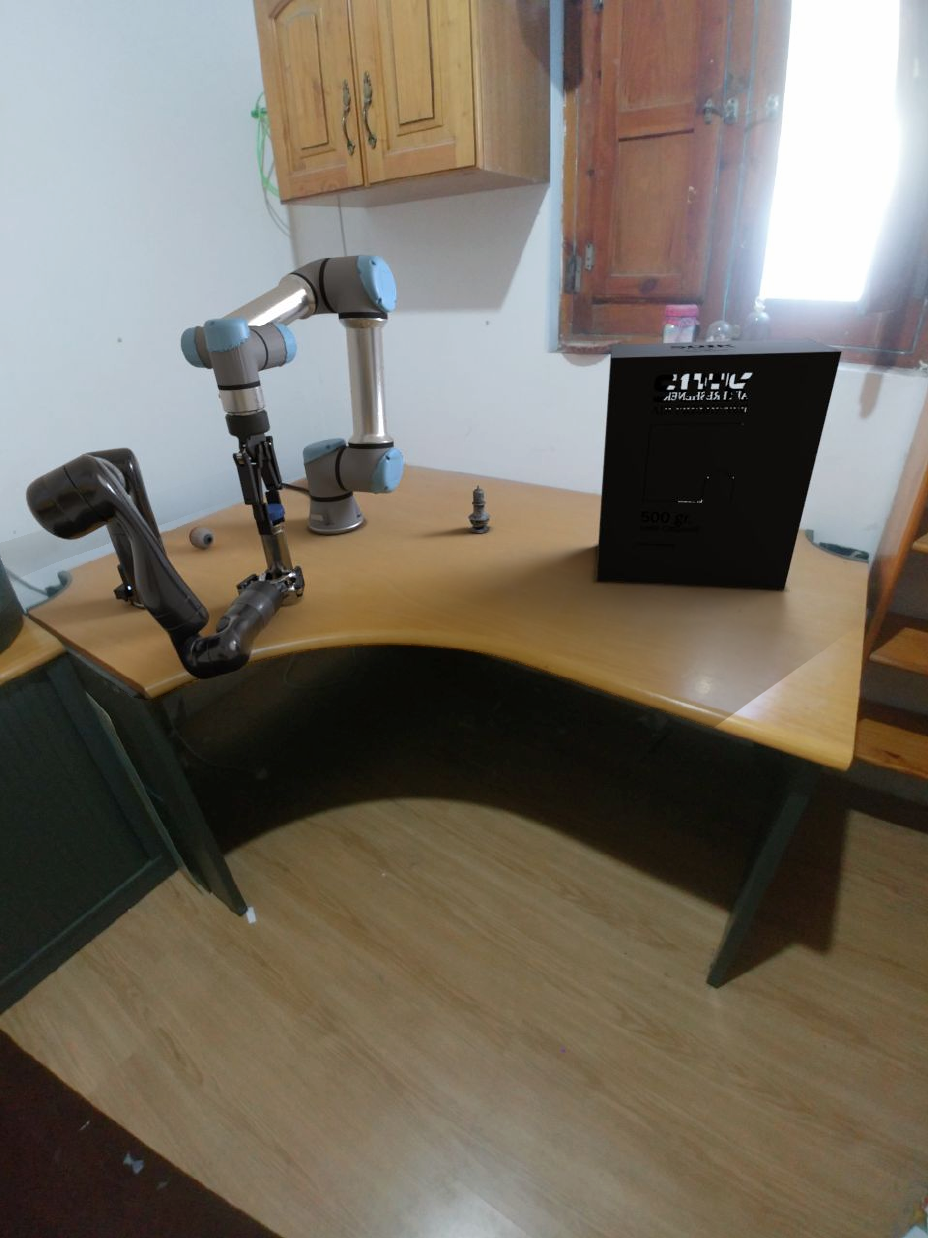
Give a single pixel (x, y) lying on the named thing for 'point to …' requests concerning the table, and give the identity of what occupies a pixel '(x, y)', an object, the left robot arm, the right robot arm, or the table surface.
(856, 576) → the table surface
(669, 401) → the cardboard box
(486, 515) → the grey tall turned piece
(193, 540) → the eyeball
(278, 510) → the lid
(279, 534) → the bottle
